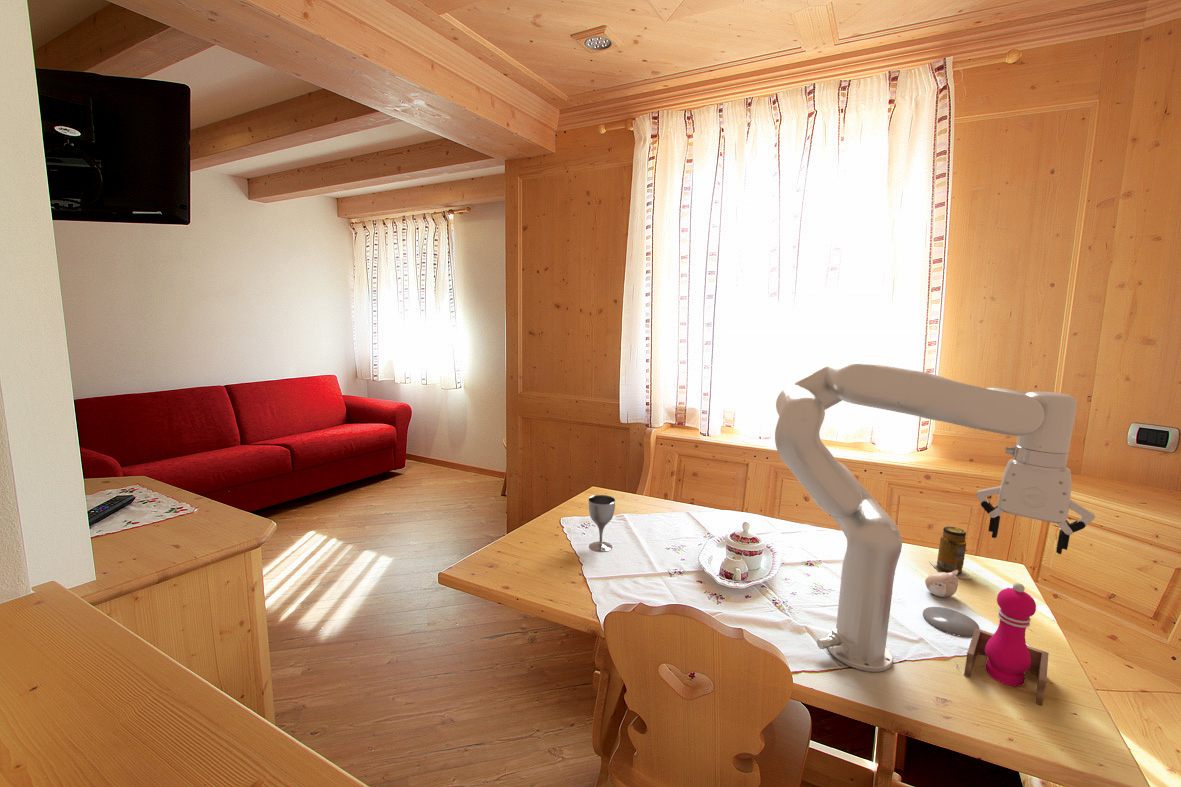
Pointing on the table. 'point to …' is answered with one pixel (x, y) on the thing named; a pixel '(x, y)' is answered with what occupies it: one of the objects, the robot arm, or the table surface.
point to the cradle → (1037, 667)
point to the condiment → (952, 552)
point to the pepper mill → (1010, 637)
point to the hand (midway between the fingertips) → (1025, 543)
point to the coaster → (950, 621)
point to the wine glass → (601, 518)
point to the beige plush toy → (942, 583)
